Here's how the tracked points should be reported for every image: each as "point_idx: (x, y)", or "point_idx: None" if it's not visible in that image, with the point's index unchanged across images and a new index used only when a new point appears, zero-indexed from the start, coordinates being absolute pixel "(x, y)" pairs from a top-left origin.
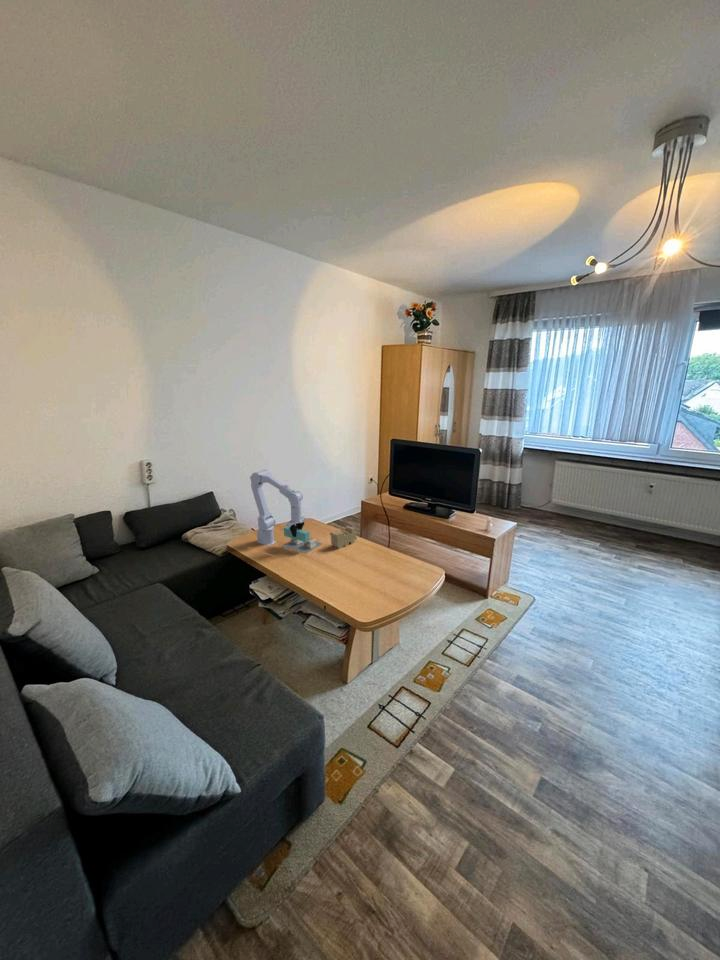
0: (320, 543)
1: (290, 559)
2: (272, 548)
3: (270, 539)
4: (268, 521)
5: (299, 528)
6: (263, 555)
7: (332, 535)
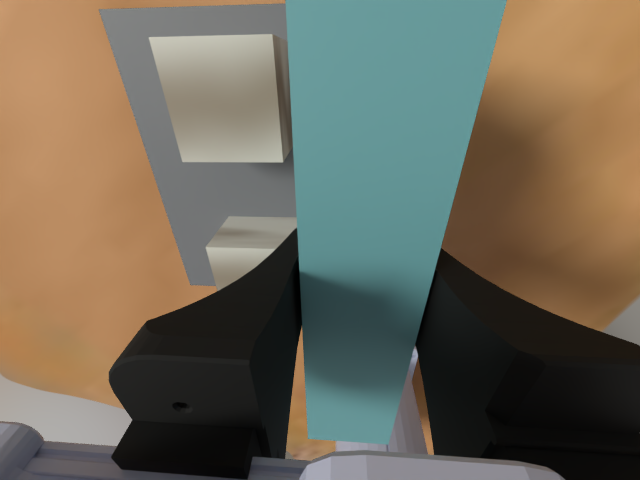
0: (118, 39)
1: (593, 74)
2: None
3: None
4: None
5: (293, 304)
6: (554, 300)
7: None
